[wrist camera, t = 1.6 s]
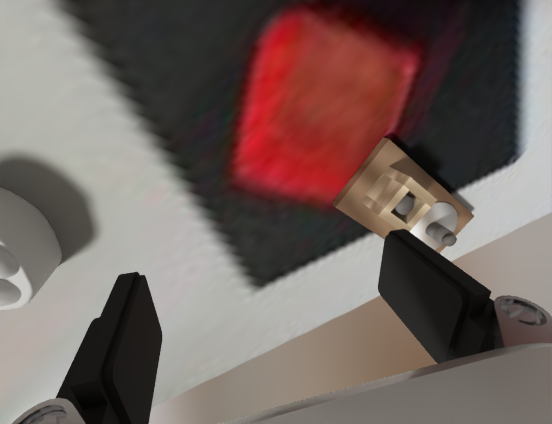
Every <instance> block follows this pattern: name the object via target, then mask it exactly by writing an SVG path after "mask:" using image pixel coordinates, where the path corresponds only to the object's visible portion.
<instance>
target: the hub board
mask: <svg viewBox="0 0 552 424" xmlns="http://www.w3.org/2000/svg"><path fill="white" fill-rule="evenodd" d="M388 166H389V167H391V168H393V169H395V170H397V171H399V172H401V173H403V174H405V175H407V176H409V177H411V178H412V179H413V180H415V181H416V182H417V183H418V184H419V185H420V186H422V187H423V188H424V189H425V190H426V191H427V192H429V193H430V194H431V195H432V196H433V197H434V198H436V199H437V201H436V202H435V203H434V205H433V206H432V207H431V208H430V209H429V210H428V211H427V212H426V214H425V215H424V216H423V217H422V218H421V219H420V220H419V221H418V223H417V224H416V225H415V226H414V227H413V228H412V229H411V230H410V233H412V234H413V235H415V236H416V237H417V238H419V239H420V240H421V241H423V242H424V243H425V244H427V245H428V246H430V247H431V248H432V249H434V250H435V251H436V252H438V253H440V252H441V251H442V250H443V249H444V248H445V247H446V246H452V245H454V244H455V243H456V240H457V238H456V237H455V236H456V235H457V234H458V233H459V232H460V231H461V230H462V229H463V228H464V227H465V225H466V224H467V223H468V222H469V221H470V220H471V219H472V218H473V217H474V215H473V214H472V213H471V212H469V211H468V210H467V209H466V208H465V207H464V206H463V205H462V204H461V203H459V202H458V201H457V200H456V199H455V198H454V197H453V196H452V195H451V194H449V193H448V192H447V191H446V190H445V189H444V188H443V187H442V186H441V185H439V184H438V183H437V182H436V181H435V180H434V179H433V178H432V177H431V176H429V175H428V174H427V173H426V172H425V171H424V170H423V169H422V168H421V167H419V166H418V165H417V164H416V163H415V162H414V161H413V160H412V159H411V158H409V157H408V156H407V155H406V154H405V153H404V152H403V151H402V150H401V149H400V148H398V147H397V146H396V145H395V144H394V143H393V142H392V141H391V140H390V139H387V138H384V137H383V138H382V139H381V141H380V142H379V143H378V145H377V146H376V147H375V148H374V150H373V151H372V152H371V154H370V155H369V156H368V157H367V159H366V160H365V161H364V162H363V164H362V165H361V166H360V168H359V169H358V170H357V171H356V173H355V174H354V175H353V177H352V178H351V179H350V180H349V182H348V183H347V184H346V186H345V187H344V188H343V189H342V191H341V192H340V193H339V195H338V196H337V197H336V198H335V200H334V201H333V202H332V204H333V205H334V206H335V207H336V208H337V209H339V210H340V211H342V212H343V213H345V214H347V215H348V216H350V217H351V218H353V219H354V220H356V221H357V222H359V223H360V224H362V225H363V226H365V227H366V228H368V229H369V230H371V231H373V232H374V233H376V234H377V235H379V236H380V237H382V238H383V239H385V237H386V235H388V233H389V232H390V231H392V230H398V229H397V228H395V227H394V226H392V225H391V224H389V223H388V222H387V221H385V220H384V219H382V218H381V217H379V216H378V215H377V214H376V213H374V212H373V211H372V210H371V209H369V208H368V207H367V206H366V205H364V204H363V203H362V202H361V200H362V198H363V197H364V196H365V195H366V193H367V192H368V191H369V190H370V188H371V187H372V186H373V185H374V183H375V182H376V181H377V180H378V178H379V177H380V176H381V175H382V174H383V172H384V171H385V170H386V169H387V167H388ZM413 207H414V200H413V199H412V198H410V197H409V196H407V195H405V196H404V197H403V198H402V199H401V201H400V202H399V203H398V204H397V205H396V206H395V208H394V210H395V211H397V212H398V213H400V214H402V215H405V214H408V213H409V212H410V211H411V210H412V209H413Z"/></svg>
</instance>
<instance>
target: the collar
mask: <svg viewBox="0 0 552 424" xmlns="http://www.w3.org/2000/svg"><path fill="white" fill-rule="evenodd" d="M405 195H407V196H409V197H410V198H412V199H413V200H414V207H413V209H412V210H411V211H410V212H409V213H408V214H405V215H402V214H400V213H398V212H397V211H395V210H394V208H395V206H396V205H397V204H398V203H399V202H400V201H401V199H402V198H403V197H404V196H405ZM436 201H437V199H436V198H434V197H433V196H432V195H431V194H430V193H429V192H427V191H426V190H425V189H424V188H423V187H422V186H420V185H419V184H418V183H417V182H416V181H415V180H413V179H412V178H411V177H409V176H407V175H405V174H403V173H401V172H399V171H397V170H395V169H393V168H391V167H389V166H388V167H387V169H386V170H385V171H384V172H383V174H382V175H381V176H380V177H379V178H378V180H377V181H376V182H375V183H374V185H373V186H372V187H371V188H370V190H369V191H368V192H367V193H366V195H365V196H364V197H363V198H362V200H361V202H362V203H363V204H364V205H366V206H367V207H368V208H369V209H371V210H372V211H373V212H374V213H376V214H377V215H378V216H379V217H381V218H382V219H384V220H385V221H387V222H388V223H389V224H391V225H392V226H394V227H395V228H397V229H406V230H408V231H409V232H410V230H411V229H412V228H413V227H414V226H415V225H416V224H417V223H418V221H419V220H420V219H421V218H422V217H423V216H424V215H425V214H426V212H427V211H428V210H429V209H430V208H431V207H432V206H433V205H434V203H435V202H436Z"/></svg>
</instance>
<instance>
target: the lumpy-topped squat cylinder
mask: <svg viewBox="0 0 552 424" xmlns="http://www.w3.org/2000/svg"><path fill="white" fill-rule="evenodd" d="M61 259H62V251H61V248H60V245H59V243H58V240H57V238H56V236H55V234H54V232H53V230H52V228H51V226H50V225H49V223H48V221H47V220H46V218H45V217H44V216H43V214H42V213H41V212H40V211H39V210H38V209H37V208H35V207H34V206H33V205H31V204H30V203H29V202H27V201H26V200H24V199H23V198H21V197H20V196H18V195H16V194H14V193H13V192H10V191H8V190H6V189H3V188H0V310H8V309H15V308H20V307H23V306H25V305H26V304H28V303H29V302H30V301H31V300H32V299H33V297H34V296H35V295H36V293H37V292H38V291H39V290H40V288H41V287H42V286H43V284H44V283H45V282H46V281H47V279H48V278H49V277H50V275H51V274H52V273H53V272H54V270H55V269H56V268H57V266H58V265H59V264H60V262H61Z"/></svg>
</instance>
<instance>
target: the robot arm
mask: <svg viewBox="0 0 552 424" xmlns="http://www.w3.org/2000/svg"><path fill="white" fill-rule="evenodd" d="M378 290H379V293H380V295H381V296H382V297H383V299H385V301H386V302H387V303H388V305H389V306H390V307H391V308H392V309H393V310H394V312H395V313H396V314H397V316H398V317H399V318H400V319H401V320H402V322H403V323H404V324H405V325H406V326H407V328H408V329H409V330H410V331H411V332H412V334H413V335H414V336H415V337H416V338H417V340H418V341H419V342H420V343H421V345H423V347H424V348H425V349H426V351H427V352H428V353H429V354H430V355H431V357H432V358H433V359H434V360H435V361H436V362H437V363H438V364H436V365H431V366H428V367H424V368H420V369H416V370H412V371H409V372H405V373H401V374H397V375H393V376H390V377H386V378H382V379H379V380H375V381H371V382H368V383H364V384H360V385H356V386H352V387H349V388H345V389H341V390H338V391H334V392H330V393H327V394H323V395H320V396H316V397H312V398H308V399H305V400H301V401H297V402H294V403H290V404H287V405H283V406H279V407H276V408H272V409H268V410H265V411H261V412H258V413H254V414H250V415H247V416H243V417H239V418H236V419H232V420H229V421H225V422H222V423H218V424H552V317H551V316H550V314H549V313H548V312H547V311H545V310H544V309H543V308H542V307H540V306H538V305H537V304H535V303H533V302H531V301H528V300H526V299H523V298H519V297H516V296H509V295H508V296H500V297H497V298H496V299H495V301H493V300H491V299H490V298H489V297H490V294H491V291H490V290H488V289H487V288H486V287H484V286H483V285H482V284H480V283H479V282H477V281H476V280H475V279H473V278H472V277H471V276H469V275H468V274H467V273H465V272H464V271H463V270H461V269H460V268H458V267H457V266H456V265H454V264H453V263H452V262H450V261H449V260H447V259H446V258H445V257H443V256H442V255H441V254H439V253H438V252H436V251H435V250H434V249H432V248H431V247H430V246H428V245H427V244H425V243H424V242H423V241H421V240H420V239H419V238H417V237H416V236H415V235H413V234H412V233H410V232H409V231H408V230H406V229H398V230H392V231H390V232H389V233H388V235H386V237H385V241H384V248H383V255H382V262H381V269H380V276H379V283H378ZM161 344H162V331H161V327H160V324H159V320H158V317H157V313H156V310H155V307H154V303H153V300H152V297H151V293H150V290H149V287H148V283H147V280H146V277H145V275H139V273H138V272H133V273H127V274H121V275H119V276H118V278H117V280H116V282H115V284H114V287H113V289H112V291H111V293H110V296H109V298H108V300H107V303H106V305H105V307H104V309H103V312H102V314H101V316H100V318H95V319H94V320H93V321H92V323H91V324H90V326H89V328H88V330H87V332H86V335H85V337H84V339H83V341H82V343H81V345H80V347H79V349H78V352H77V354H76V356H75V358H74V360H73V362H72V364H71V366H70V369H69V371H68V373H67V375H66V377H65V379H64V381H63V383H62V386H61V388H60V390H59V392H58V394H57V396H56V398H55V399H50V400H47V401H44V402H42V403H39V404H37V405H36V406H34V407H32V408H31V409H29V410H27V411H26V412H25V413H23V414H22V415H21V416H20V417H19V418H17V419H16V420H15V421H14V422H13V423H12V424H148V423H149V417H150V411H151V405H152V399H153V393H154V387H155V381H156V375H157V368H158V362H159V356H160V350H161Z"/></svg>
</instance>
